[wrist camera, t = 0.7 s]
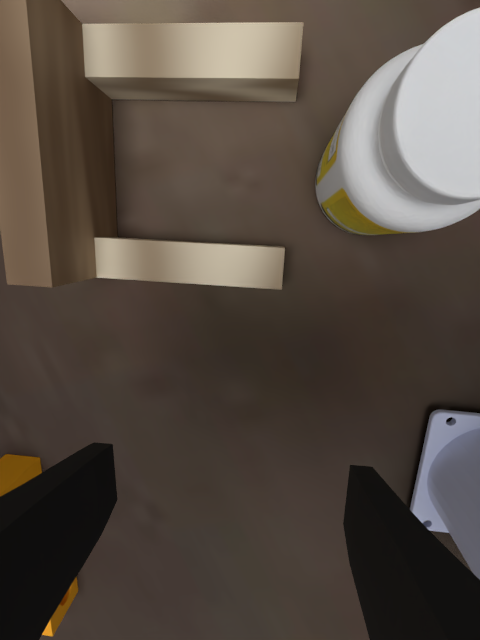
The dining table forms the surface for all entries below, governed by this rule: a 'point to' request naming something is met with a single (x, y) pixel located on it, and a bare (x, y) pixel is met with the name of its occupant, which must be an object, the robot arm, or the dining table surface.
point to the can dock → (98, 143)
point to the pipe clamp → (11, 475)
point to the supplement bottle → (410, 140)
